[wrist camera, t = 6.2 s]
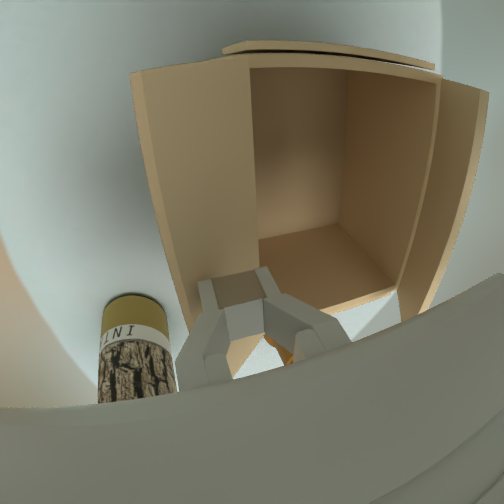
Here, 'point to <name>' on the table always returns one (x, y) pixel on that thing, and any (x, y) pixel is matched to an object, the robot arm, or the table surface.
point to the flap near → (201, 175)
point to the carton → (338, 165)
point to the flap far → (444, 193)
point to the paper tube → (134, 351)
